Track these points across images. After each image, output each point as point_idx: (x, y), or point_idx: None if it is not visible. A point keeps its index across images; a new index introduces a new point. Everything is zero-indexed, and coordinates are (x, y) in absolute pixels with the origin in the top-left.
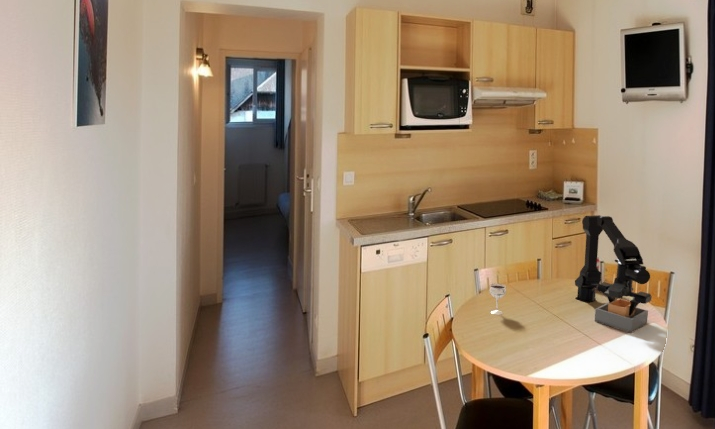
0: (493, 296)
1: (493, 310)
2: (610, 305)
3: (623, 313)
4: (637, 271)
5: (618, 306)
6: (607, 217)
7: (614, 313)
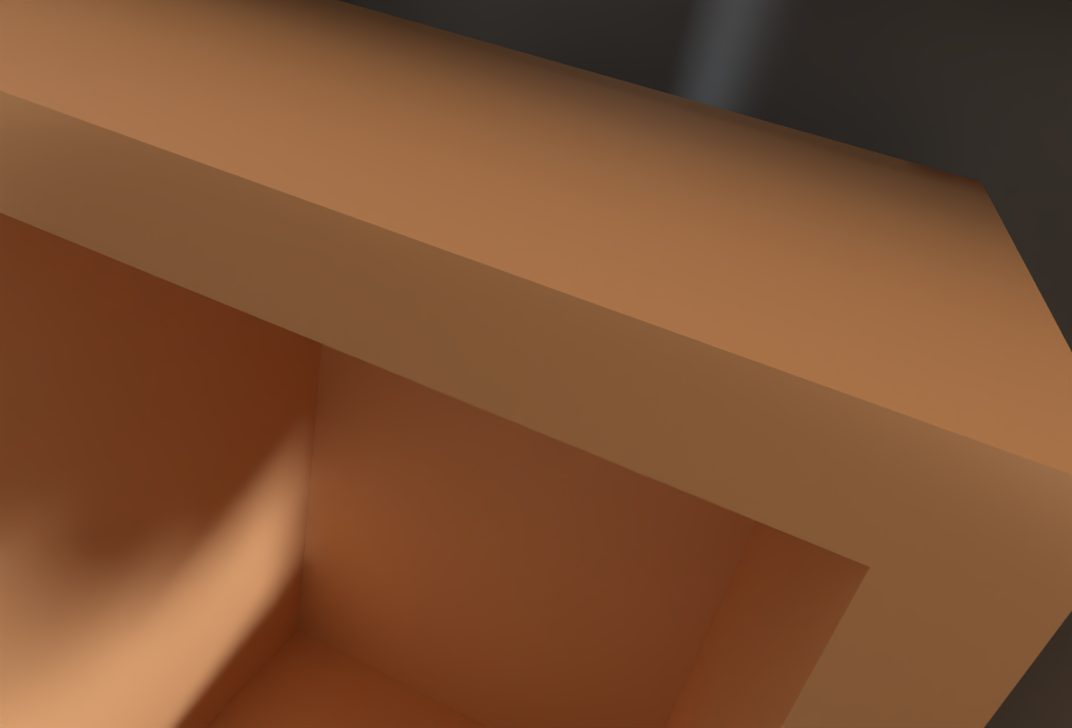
0: None
1: None
2: (879, 349)
3: (166, 10)
4: None
5: (143, 130)
6: None
7: (639, 124)
